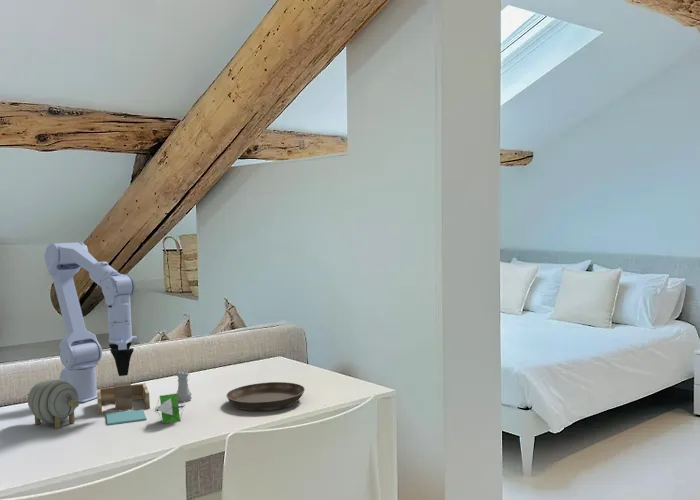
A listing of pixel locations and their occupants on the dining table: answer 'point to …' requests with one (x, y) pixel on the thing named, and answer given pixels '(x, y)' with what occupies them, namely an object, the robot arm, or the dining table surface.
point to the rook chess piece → (183, 387)
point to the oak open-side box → (109, 395)
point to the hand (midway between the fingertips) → (122, 372)
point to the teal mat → (125, 417)
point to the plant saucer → (265, 396)
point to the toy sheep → (53, 401)
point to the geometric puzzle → (169, 408)
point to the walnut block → (123, 396)
